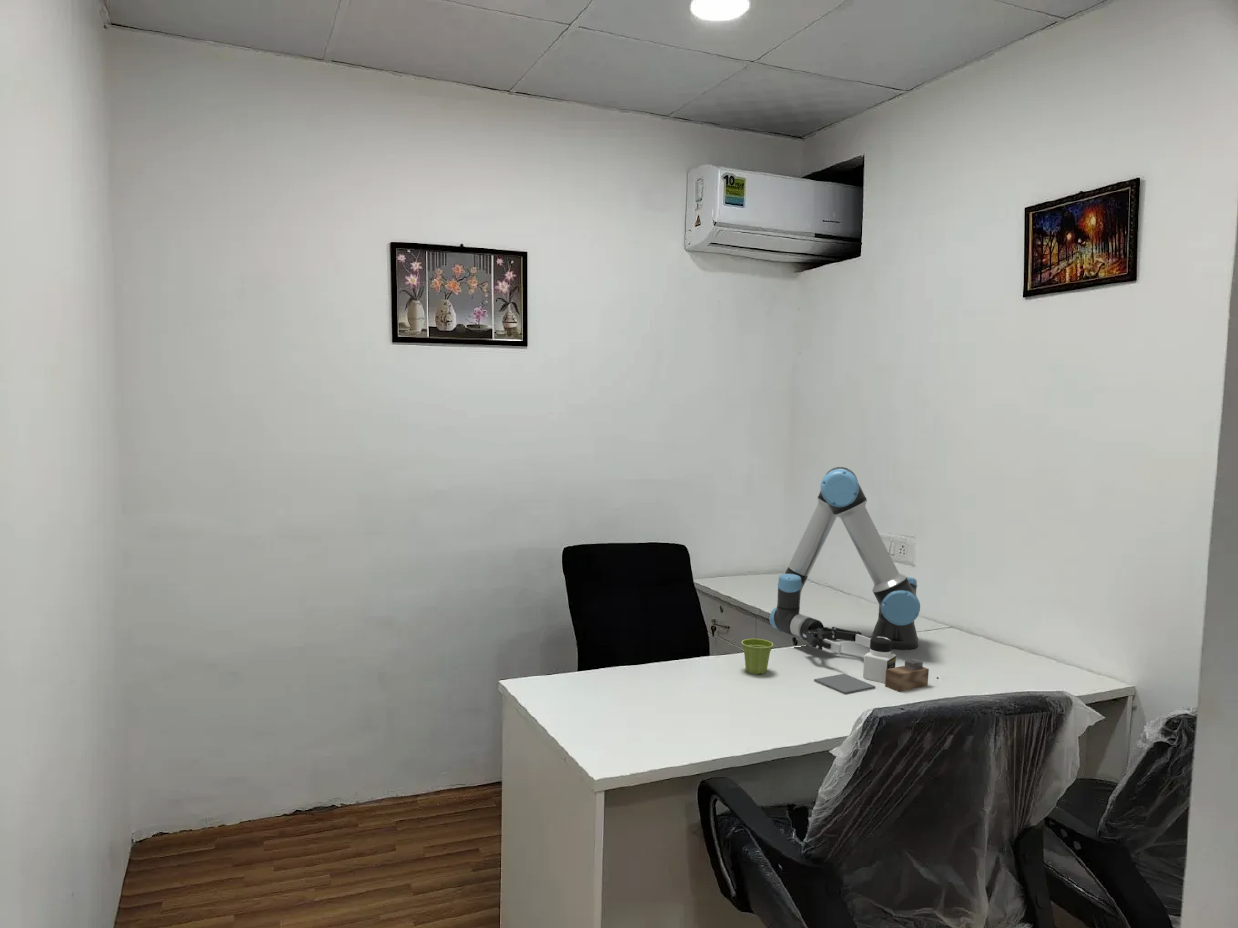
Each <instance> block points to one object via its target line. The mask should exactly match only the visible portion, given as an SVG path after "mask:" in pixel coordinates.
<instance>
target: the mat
mask: <svg viewBox="0 0 1238 928" xmlns="http://www.w3.org/2000/svg"><path fill="white" fill-rule="evenodd" d="M813 682H815V683H817V684H820V685H822V686H824V687H826V688H828V689H830V690H833V691H836V692H838V693H840V694H842V695H849V694H853V693H858V692H863V691H868V690H869V691H870V690H873V689H874V690H875V689H876V685H874V684H870V683H868V682H866V681H864V680H861V679H858V678H856V677H854V676H851V675H848V674H846V673H841V674H836V675H830V676H823V677H818V678H814V679H813Z"/></svg>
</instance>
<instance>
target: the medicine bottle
mask: <svg viewBox="0 0 1238 928" xmlns="http://www.w3.org/2000/svg"><path fill="white" fill-rule="evenodd" d="M891 647H892V641H891V640H890V639H888V638H885V637H873V638H872V637H870V648H869V652H867V653H866V654H864V656H863V668H862V669H863V673H862V678H863V679H866V680H868V681H869V680H870V681H872V682H873V681H874V682H879V683H883V684H885V680H886V669H890V668H896V662H897V661H896V659H897V655H896V654H895V653H892V648H891Z"/></svg>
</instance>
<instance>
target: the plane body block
mask: <svg viewBox="0 0 1238 928" xmlns="http://www.w3.org/2000/svg"><path fill="white" fill-rule="evenodd" d="M929 671H930V670H929V668H928V667H924V661H921V660H919V659H916V658H911V659H907V660H904V665H901V666H895V668H890V669H886V680H885V683H884V684H885V685H884V687H885V688H889V689H891V690H894V691H896V692H899V693H901V692H904V691H910V690H913V689H919V688H923V687H928V686H929V685H928V684H929Z"/></svg>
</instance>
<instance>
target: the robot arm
mask: <svg viewBox="0 0 1238 928" xmlns="http://www.w3.org/2000/svg"><path fill="white" fill-rule="evenodd" d="M816 499H817V501H818V502H817V505H816V507H815V510H814V512H813V513H812V516H811V517H810V520H809V522H808V523H807V526H806V529H804V530H805V531H804V532H803V534H802V536H801V538H800V541H799V544H798V545H797V547H796V550H794V551H795V552H794V553H793V555H792V557H791V560H790V562H789V564H788V567H787V568H786V570H785V572H784V573H783V574H780V575H778V576H779V577H778V581H777V600H776V601H777V603H776V607H775V608H773V609H772V610H771V613H770V614H769V623H770V625H771V627H772V628H774V629H776V630H778V631H779V632H782V633H785V634H788V635H791V636H793V637H796V638H799V640H803V641H806V642H807V643H808V644H809V645H810V646H811V647H812V648H817V647H818V648H817V649H818V650H819V651H822V650H823V649H826V650H829V651H831V652H834V653H835V654H841V653H842V652H841V651H842V644H840V643H838V642H835V641H837V640H840V641H847V642H848V641H849V642H854V643H855V644H858V645H861V646H863V647H867V648H869V649H870V639H871V638H873V637H885V638H888V639H890V640H891V641H892V647H891V649H896V650H913V649H916V648H918V647H919V640H920V639H919V637H918V633H917V630H916V624H915V620H916V619H917V618H918V617H919V614H920V611H921V603H920V600H919V599H918V596H917V588H918V584H917V581H918V580H917V579H916V578H914V577H909V576H906V575H905V574H902V573H900V572H899V570H898V569H897V566H896V564H895V562H894V560H893V558H892V556H891V554H890V552H889V551H888V548H887V546H886V544H885V543H884V541H883V539H882V536H881V535H880V533H879V532H878V529H877V526H875V524H874V521H873V520H872V517H871V516H870V514H869V512H868V510H867V507H866V504H867V501H868V499H867V497H866V495H865V493H864V491H863V489H862V487H861V485H860V483H859V481H858V478H857V476H856V474H855V473H854V472H853V470H851V469H849V468H847V467H843V466H838V467H837V466H836V467H834V468H831V469H829V470H828V471H827V472H826V473H825V475H824V476H823V477H822V479H821V482H820V491H819V493H818V496H817V498H816ZM837 518H839V519H840V520H841V521H842V524H843V526H844V527H845V530H846V532H847V533H848V535H849V537H850V539H851V541H852V543H853V545H854V547H855V548H856V549H855V550H856V551H857V553H858V555H859V557H860V559H861V560H862V563H863V564H864V565H863V566H865V569H866V571H867V573H868V575H869V577H870V579H871V580H872V582H873V587H872V591H871V592H872V593H873V595H874V596H875V598H876V599H875V600H876V601H877V603H878V615H877V616H878V618H877V621H876V624H874V625H875V626H874V628H873V631H872V633H871V637H867V636H864V635H863V634H862V632H860V631H858V630H857V631H855V630H850V629H844V628H839V627H836V626H832V627H828V626H825V625H824V624H823V623H822V621H821V620H819V619H817V618H814V617H810V616H808V615H804V614H801V613H800V609H801V607H800V606H801V595H802V590H803V587H804V586H805V584H806V582H807V580H808V577H809V576H810V573H811V572H812V569H813V567H814V564H815V563H816V561H817V558H818V557H819V555H820V552H821V550H822V549H823V546H824V544H825V542H826V540H827V538H828V536H829V534H830V532H831V530H832V529H833V526H834V523H836V519H837Z"/></svg>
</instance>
